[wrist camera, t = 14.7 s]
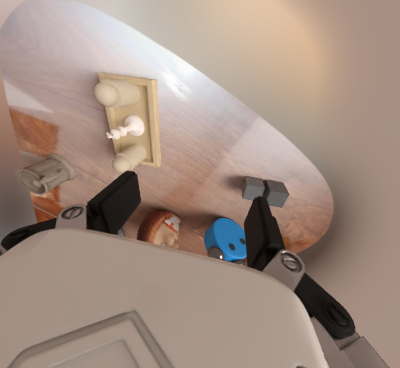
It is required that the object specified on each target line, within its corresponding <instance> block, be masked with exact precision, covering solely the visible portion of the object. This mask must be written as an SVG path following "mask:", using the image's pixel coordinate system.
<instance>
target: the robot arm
mask: <svg viewBox="0 0 400 368" xmlns="http://www.w3.org/2000/svg"><path fill="white" fill-rule="evenodd" d="M140 202H141V197H140V191H139V184H138V177H137V174H135V172H133V171H125V172H124V173H123V174H122V175H120V176H119V177H118V178H117V179H115V180H114V181H113V182H112V183H111V184H109V185H108V186H107V187H106V188H105V189H103V190H102V191H101V192H100V193H98V194H97V195H96V196H95V197H94V198H92V199H91V200H90V201H89V202H88V203H87V204H88V205H87V206H84V205H80V204H77V205H72V206H69V207H67V208H65V209H63V210H62V211H61V212H60V213H59V214H58V217H57V218H54V219H51V220H47V221H44V222H40V223H37V224H33V225H30V226H26V227H23V228H20V229H17V230H15V231H13V232H11V233H10V234H8V235H7V236H6V237H5V238H4V239H3V240H2V242H1V243H0V368H328V367H327V364H326V361H327V363H328V364H329V366H330V368H389V366H388V365H387V364H386V363H385V362H384V360H383V359H382V358H381V357H380V356H379V354H378V353H377V352H376V351H375V350H374V348H373V347H372V346H371V345H370V344H369V343H368V341H367V340H366V339H365V338H364V337H363V336H362V337H360V336H359V334H358V333H357V332H356V331H355V325H354V322H353V320H352V318H351V316H350V315H349V313H348V312H347V310H346V309H345V308H344V307H343V306H341V304H340V303H339V302H337V301H336V300H335V299H334V298H333V297H332V296H331V295H330V294H328V293H327V292H326V291H325V290H324V289H323V288H322V287H321V286H319V285H318V284H317V283H316V282H315V281H314V280H313V279H311V278H310V277H309V276H308V275H307V274H306V273H305V265H304V263H303V261H302V260H301V259H300V257H298V256H297V255H296V254H295V253H293V252H292V251H289V250H286V249H285V245H284V242H283V239H282V236H281V233H280V230H279V227H278V224H277V221H276V218H275V217H273V216H272V214H271V211H270V207H269V204H268V201H267V198H266V197H262V196H258V197H255V198H254V200H253V203H252V205H251V207H250V210H249V212H248V215H247V217H246V219H245V222H244V230H245V242H246V254H247V266H248V267H246V266H243V265H239V264H235V263H232V262H228V261H224V260H220V259H216V258H212V257H207V256H203V255H199V254H195V253H191V252H186V251H182V250H178V249H174V248H169V247H165V246H161V245H157V244H152V243H148V242H144V241H139V240H135V239H131V238H126V237H122V236H117V235H116V234H117V232H118V231H119V230H120V229H121V227H122V226H123V225H124V223H125V222H126V221H127V219H128V218H129V217H130V216H131V214H132V213H133V212H134V210H135V209H136V208H137V206H138V205H139V204H140ZM322 351H323V352H322ZM323 353H324V354H323ZM325 360H326V361H325Z"/></svg>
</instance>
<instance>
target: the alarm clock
mask: <svg viewBox="0 0 400 368" xmlns="http://www.w3.org/2000/svg"><path fill="white" fill-rule="evenodd" d="M204 242H205V247H206V249H207V251H208V253H207V254H208V257H212V258H216V259H220V260H224V261H228V262H232V263H235V264H239V265H243V266H245V265H246V263H245V260H242V259H243V258H245V257H246V256H247V254H246V242H245V232H244V230H243V229H242V228H241V227H240V226H239V225H238V224H237V223H235V222H234V221H232V220H230V219H227V218H219V219H217V220H216V221H215V222H214V223H213V224H212V225H211V226H210V227H209V228H208V230H207V231H206V233H205V236H204Z"/></svg>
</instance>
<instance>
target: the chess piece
mask: <svg viewBox="0 0 400 368" xmlns="http://www.w3.org/2000/svg"><path fill="white" fill-rule="evenodd" d="M144 129H145V127H144V123H143V121H142V120H141V119H140V118H139V117H138V116H135V115H130V116H128V117H127V118H126V119H125V127H122V126H119V127H118V128H117V130H116V129H112V130H111V131H110V133H106V135H107V138H109V139H110V138H113V139H119V138H120V136H126V134H127V132H129V133H130V134H131V135H133V136H140V135H142V134H143V133H144Z"/></svg>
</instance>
